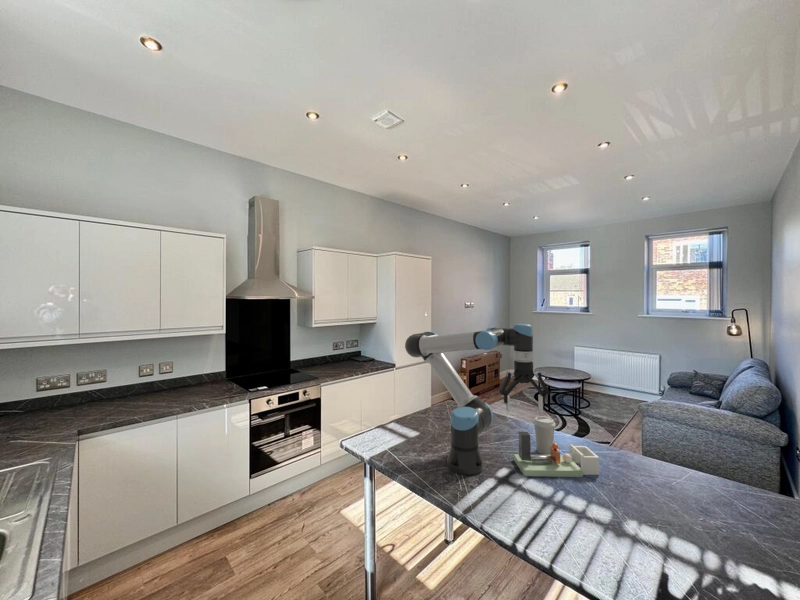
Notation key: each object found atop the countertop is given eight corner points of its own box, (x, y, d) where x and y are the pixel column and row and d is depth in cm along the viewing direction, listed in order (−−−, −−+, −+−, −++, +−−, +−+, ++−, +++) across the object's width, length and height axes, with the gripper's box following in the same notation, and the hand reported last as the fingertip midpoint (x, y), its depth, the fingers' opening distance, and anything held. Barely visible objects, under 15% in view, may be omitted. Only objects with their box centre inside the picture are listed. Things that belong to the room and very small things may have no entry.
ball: (564, 464, 129) (564, 455, 129) (560, 460, 133) (560, 451, 133) (573, 464, 129) (573, 455, 129) (569, 460, 133) (569, 451, 133)
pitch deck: (524, 476, 126) (524, 470, 126) (514, 459, 139) (513, 454, 139) (582, 476, 125) (582, 470, 125) (567, 460, 138) (567, 454, 138)
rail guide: (532, 463, 130) (532, 461, 130) (529, 458, 134) (529, 456, 134) (552, 464, 129) (552, 461, 129) (548, 458, 134) (548, 456, 134)
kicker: (522, 463, 129) (522, 436, 129) (518, 456, 135) (517, 430, 135) (561, 464, 129) (560, 436, 129) (555, 457, 134) (554, 430, 134)
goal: (581, 474, 126) (581, 455, 126) (570, 462, 136) (569, 444, 136) (599, 474, 126) (598, 455, 126) (586, 462, 135) (585, 444, 135)
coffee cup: (551, 447, 150) (550, 415, 150) (559, 457, 140) (559, 423, 141) (530, 446, 151) (530, 415, 151) (537, 456, 141) (537, 423, 141)
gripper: (495, 362, 129) (496, 414, 129) (557, 362, 128) (558, 414, 128) (491, 359, 136) (492, 407, 136) (549, 358, 135) (550, 407, 135)
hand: (524, 410), depth 132 cm, fingers open, 13 cm apart
